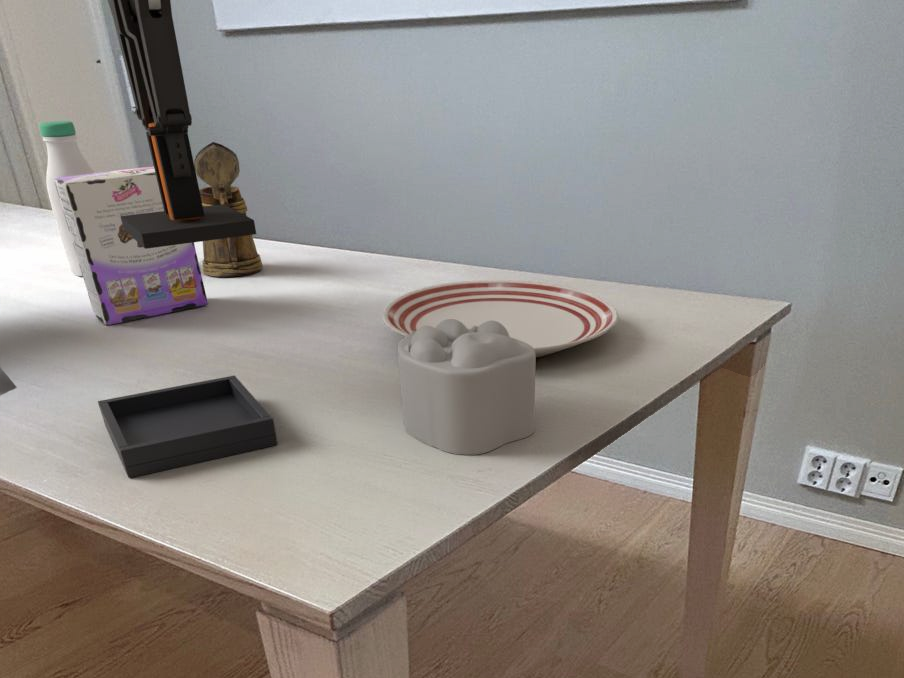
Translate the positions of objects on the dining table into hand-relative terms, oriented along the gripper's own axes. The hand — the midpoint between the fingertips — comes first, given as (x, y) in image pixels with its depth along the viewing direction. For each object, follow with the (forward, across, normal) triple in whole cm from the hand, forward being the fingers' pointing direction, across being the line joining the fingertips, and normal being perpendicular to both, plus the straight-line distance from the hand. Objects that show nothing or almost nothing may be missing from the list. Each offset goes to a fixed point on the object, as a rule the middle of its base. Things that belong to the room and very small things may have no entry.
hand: (184, 214), depth 76 cm
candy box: (+17, +35, 0) cm, 39 cm away
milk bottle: (+17, +63, +3) cm, 65 cm away
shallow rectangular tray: (+17, -10, +6) cm, 20 cm away
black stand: (+2, 0, 0) cm, 2 cm away
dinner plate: (+17, -1, -33) cm, 37 cm away
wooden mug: (+17, +48, -15) cm, 53 cm away
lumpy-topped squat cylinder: (+17, -22, -17) cm, 32 cm away
